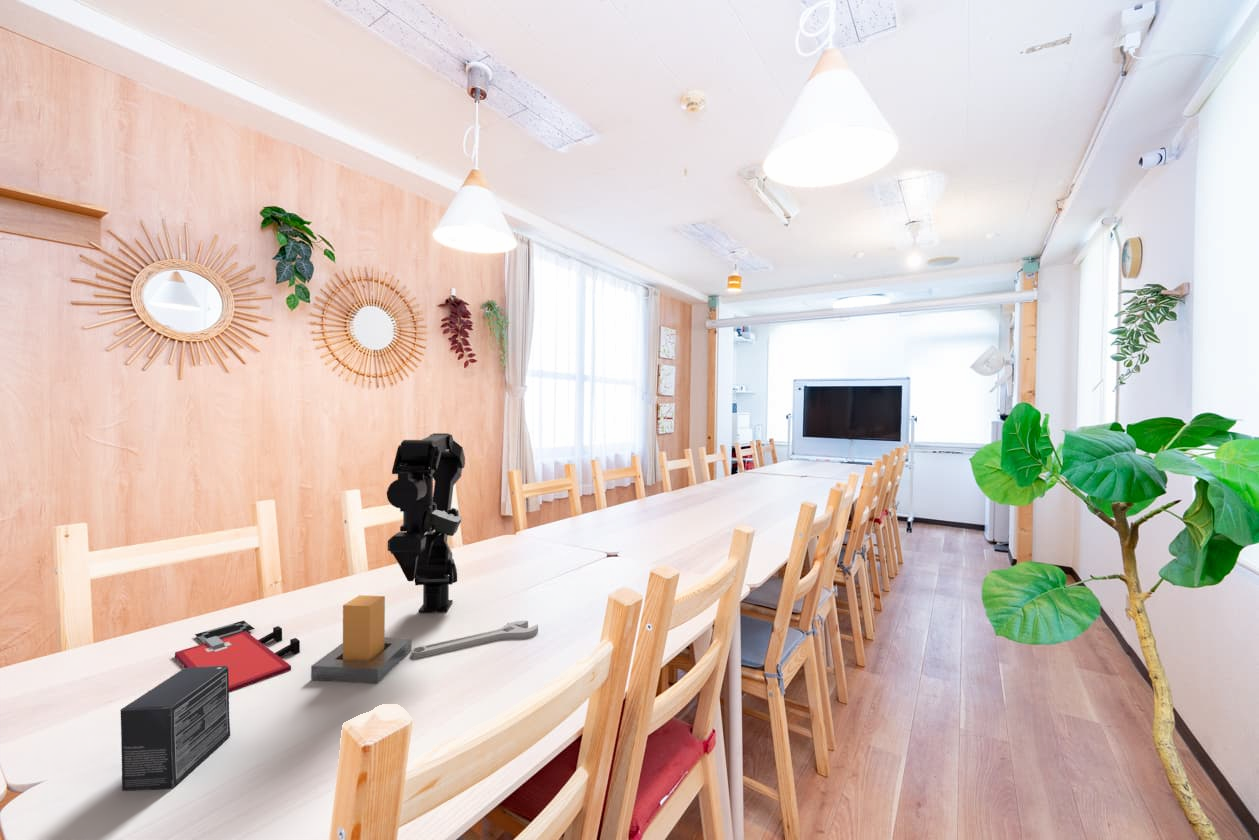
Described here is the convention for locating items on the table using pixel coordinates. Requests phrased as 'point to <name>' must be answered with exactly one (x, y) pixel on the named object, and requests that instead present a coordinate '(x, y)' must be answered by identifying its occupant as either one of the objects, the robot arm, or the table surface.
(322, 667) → the gray square socket plate
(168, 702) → the small box
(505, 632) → the adjustable wrench
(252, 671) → the red board with handle
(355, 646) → the tall tan rectangular block
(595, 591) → the table surface
